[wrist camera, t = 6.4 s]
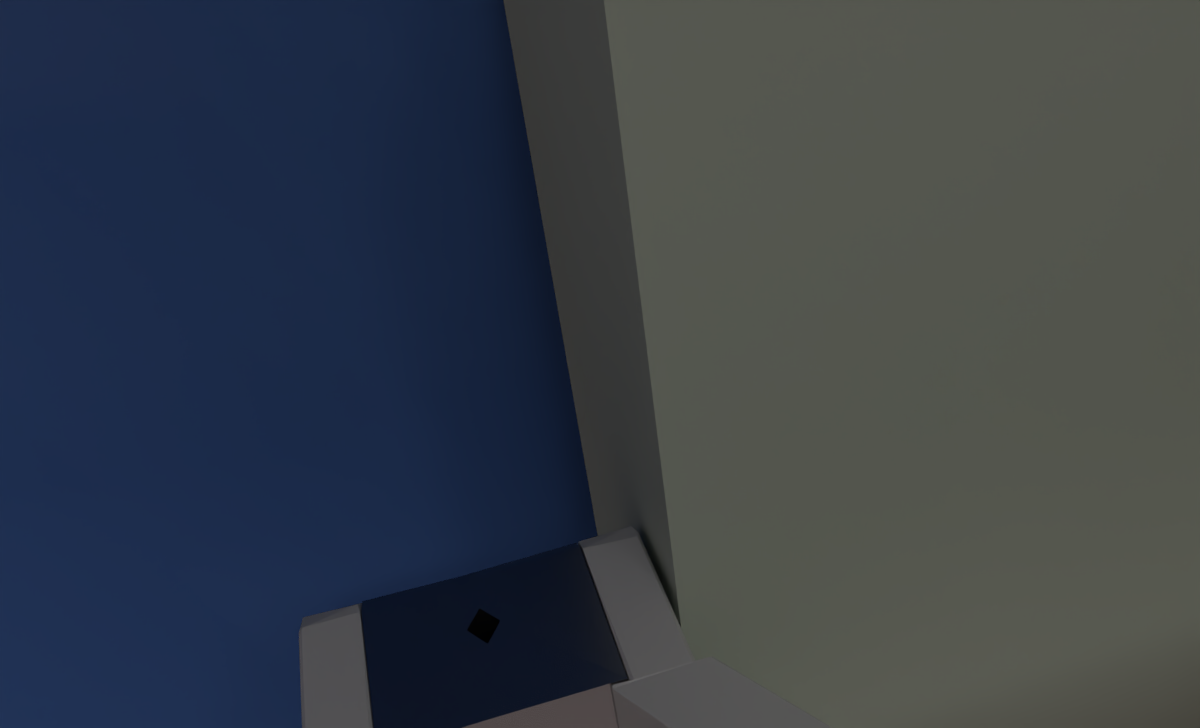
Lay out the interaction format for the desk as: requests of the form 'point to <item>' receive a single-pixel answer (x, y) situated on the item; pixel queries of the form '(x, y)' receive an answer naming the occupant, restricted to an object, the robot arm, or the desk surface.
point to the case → (890, 339)
